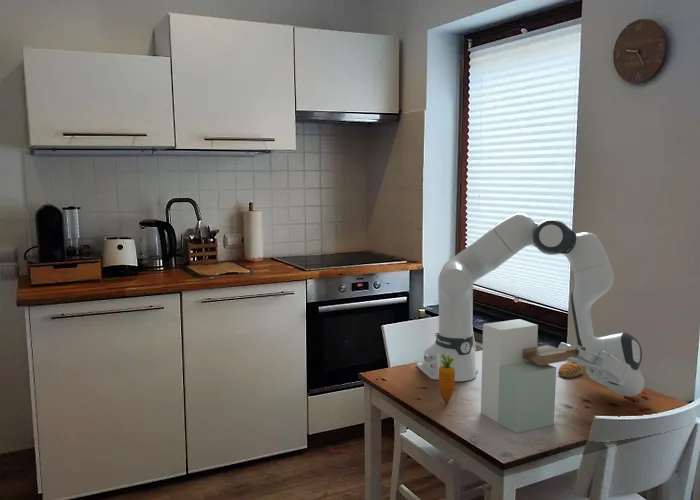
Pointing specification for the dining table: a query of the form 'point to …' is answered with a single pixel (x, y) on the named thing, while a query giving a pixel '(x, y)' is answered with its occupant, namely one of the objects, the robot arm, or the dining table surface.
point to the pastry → (570, 370)
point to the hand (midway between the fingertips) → (572, 349)
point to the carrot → (446, 379)
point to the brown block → (550, 354)
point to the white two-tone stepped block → (515, 378)
